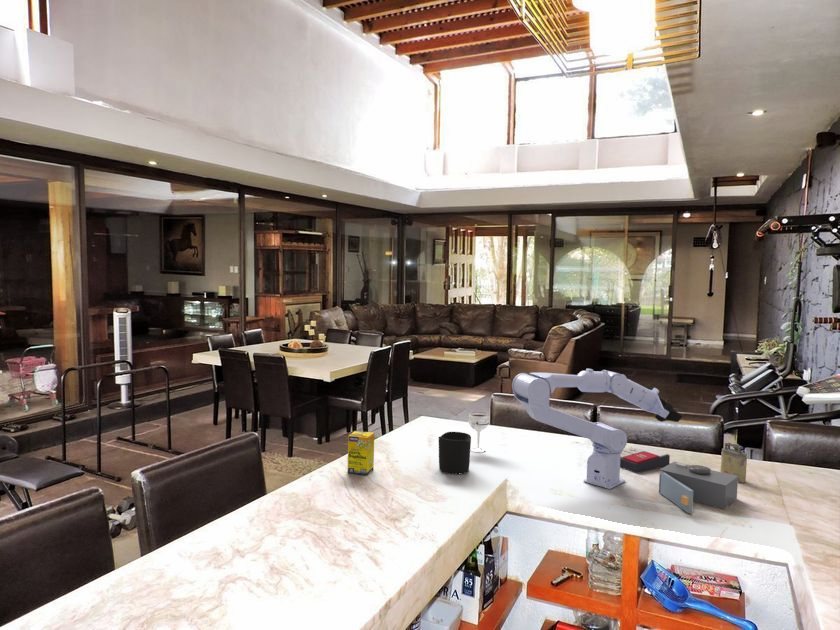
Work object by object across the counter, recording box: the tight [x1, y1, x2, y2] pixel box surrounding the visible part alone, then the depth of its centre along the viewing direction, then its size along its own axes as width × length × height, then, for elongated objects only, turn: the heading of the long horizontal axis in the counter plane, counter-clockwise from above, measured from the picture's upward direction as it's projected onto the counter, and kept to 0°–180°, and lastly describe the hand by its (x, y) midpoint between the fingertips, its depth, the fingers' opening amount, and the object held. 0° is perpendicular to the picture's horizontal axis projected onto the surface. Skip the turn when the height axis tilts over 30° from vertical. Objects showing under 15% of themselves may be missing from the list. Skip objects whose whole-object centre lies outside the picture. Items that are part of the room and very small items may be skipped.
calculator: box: [620, 445, 671, 474], centre depth 174 cm, size 11×4×15 cm
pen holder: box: [438, 431, 472, 475], centre depth 165 cm, size 9×9×10 cm
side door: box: [658, 470, 694, 514], centre depth 142 cm, size 2×14×6 cm, turn 5°
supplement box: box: [347, 430, 375, 476], centre depth 161 cm, size 6×6×11 cm
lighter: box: [719, 442, 748, 484], centre depth 161 cm, size 7×4×10 cm, turn 28°
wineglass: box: [468, 411, 490, 451], centre depth 184 cm, size 7×7×12 cm
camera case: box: [659, 461, 739, 510], centre depth 148 cm, size 10×16×7 cm, turn 46°
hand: (671, 411), depth 163 cm, fingers open, 7 cm apart
